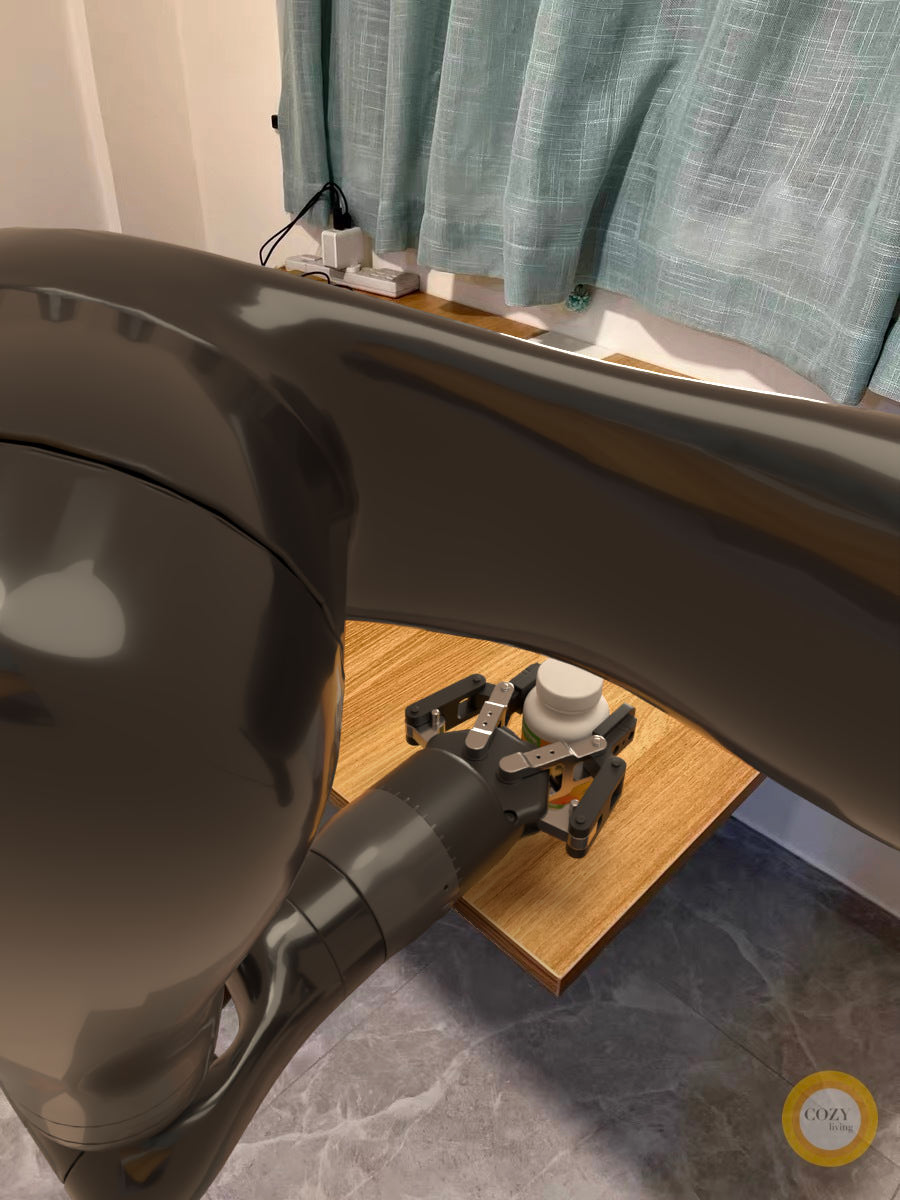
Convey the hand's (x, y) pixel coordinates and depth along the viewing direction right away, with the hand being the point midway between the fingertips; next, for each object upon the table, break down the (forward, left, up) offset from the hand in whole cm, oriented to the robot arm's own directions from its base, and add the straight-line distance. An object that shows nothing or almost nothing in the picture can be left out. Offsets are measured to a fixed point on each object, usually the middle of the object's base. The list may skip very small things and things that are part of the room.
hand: (589, 693), depth 57 cm
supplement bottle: (-1, +2, -7) cm, 7 cm away
